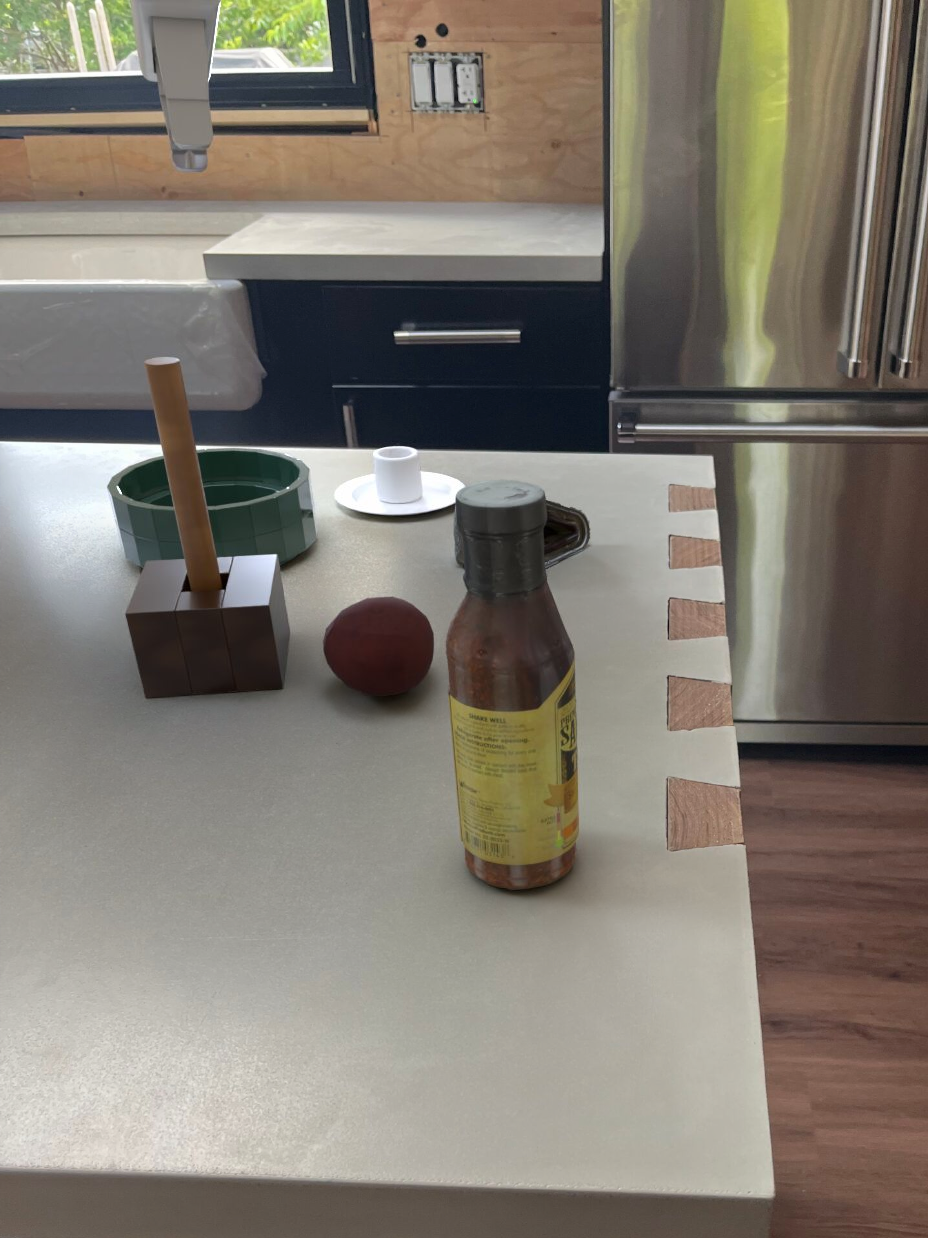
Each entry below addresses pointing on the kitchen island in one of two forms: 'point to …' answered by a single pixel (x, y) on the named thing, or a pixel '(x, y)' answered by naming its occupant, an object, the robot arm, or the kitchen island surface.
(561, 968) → the kitchen island surface
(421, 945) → the kitchen island surface
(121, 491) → the bowl
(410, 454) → the candle holder
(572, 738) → the sauce bottle
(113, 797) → the kitchen island surface
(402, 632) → the potato
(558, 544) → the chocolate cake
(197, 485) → the stirring stick
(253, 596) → the stick holder
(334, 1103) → the kitchen island surface
